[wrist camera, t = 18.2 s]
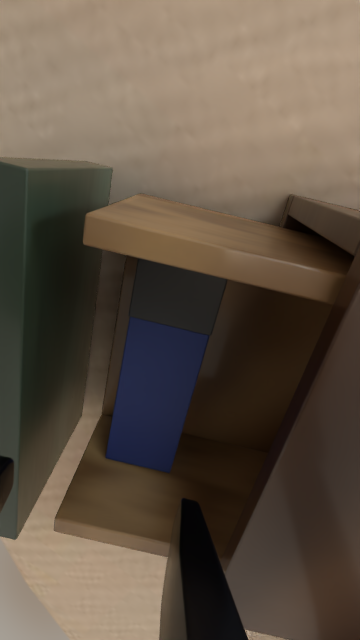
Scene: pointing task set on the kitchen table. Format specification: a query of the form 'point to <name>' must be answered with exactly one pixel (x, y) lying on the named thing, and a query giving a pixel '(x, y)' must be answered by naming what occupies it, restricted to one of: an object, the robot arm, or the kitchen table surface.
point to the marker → (161, 361)
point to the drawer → (75, 339)
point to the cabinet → (309, 476)
